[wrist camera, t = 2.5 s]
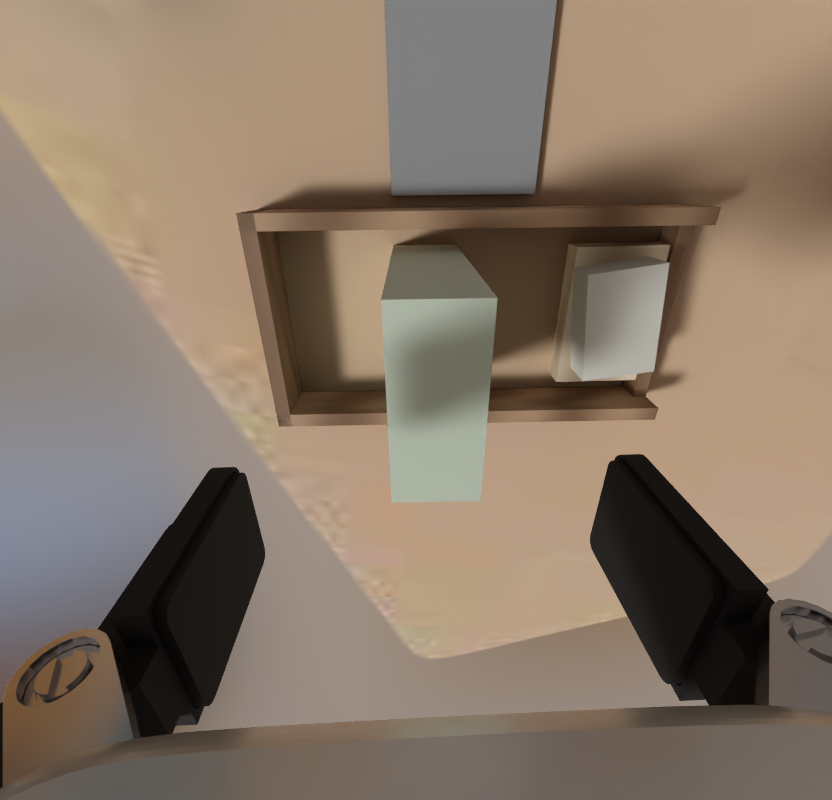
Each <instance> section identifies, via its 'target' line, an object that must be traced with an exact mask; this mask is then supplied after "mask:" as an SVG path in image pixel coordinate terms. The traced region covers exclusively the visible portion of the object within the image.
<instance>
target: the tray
mask: <svg viewBox="0 0 832 800" xmlns="http://www.w3.org/2000/svg"><path fill="white" fill-rule="evenodd" d="M720 209H721V207H716V206H703V205H690V204H643V205H569V206H495V207H421V208H347V209H273V210H253V211H247V212H241V213H236V215H237V220H238V225H239V230H240V235H241V240H242V245H243V250H244V254H245V259H246V264H247V269H248V274H249V279H250V284H251V289H252V294H253V299H254V304H255V309H256V314H257V319H258V324H259V329H260V334H261V339H262V344H263V349H264V354H265V359H266V364H267V369H268V374H269V379H270V383H271V388H272V393H273V398H274V403H275V408H276V413H277V418H278V423H279V426H331V425H384V424H388V422H387V403H386V391H334V392H302V390H301V384H300V378H299V372H298V365H297V359H296V353H295V347H294V341H293V335H292V329H291V322H290V316H289V310H288V304H287V298H286V292H285V285H284V279H283V273H282V267H281V261H280V255H279V249H278V242H277V236H276V231H329V230H400V229H472V228H543V227H614V226H663V228H662V232H661V236H660V240H659V242H661V243H665V244H669V245H671V246H670V250H669V253H668V257H667V261H666V262H669V263H670V264H669V270H668V277H667V284H666V291H665V298H664V305H663V312H662V319H661V326H660V333H659V340H658V347H657V354H656V359H657V355H658V352H659V348H660V345H661V341H662V338H663V334H664V331H665V328H666V324H667V321H668V317H669V314H670V310H671V307H672V303H673V300H674V297H675V293H676V290H677V286H678V283H679V279H680V276H681V272H682V269H683V266H684V262H685V259H686V255H687V252H688V248H689V245H690V241H691V238H692V234H693V231H694V228H695V225H716V221H717V218H718V215H719V212H720ZM655 362H656V361H655ZM651 376H652V372H646V373H639V374H637V376H636V380H624V381H623V384H622V386H615V387H559V388H503V389H490V394H489V406H488V418H487V423H492V422H545V421H599V420H653V419H655V417H656V414H657V411H658V407H656V406H655V405H654V404H653V403H652V402H651V401H650V400H649V399H648V398H646V397H645V396H646V393H647V390H648V386H649V383H650V379H651Z"/></svg>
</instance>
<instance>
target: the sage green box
mask: <svg viewBox="0 0 832 800" xmlns="http://www.w3.org/2000/svg"><path fill="white" fill-rule="evenodd" d="M497 299H498V298H497V297H496V295H495V294H494V293H493V291H492V290H491V289H490V288H489V286H488V285H487V284H486V282H485V281H484V280H483V278H482V277H481V276H480V275H479V273H478V272H477V271H476V269H475V268H474V267H473V266H472V264H471V263H470V262H469V260H468V259H467V258H466V257H465V255H464V254H463V253H462V251H461V250H460V249H459V247H458V246H457V245H456V244H448V245H394V246H393V251H392V255H391V259H390V264H389V268H388V272H387V277H386V281H385V285H384V290H383V294H382V298H381V307H382V326H383V345H384V364H385V384H386V403H387V422H388V441H389V460H390V479H391V498H392V503H404V502H453V501H481V490H482V478H483V466H484V454H485V442H486V430H487V418H488V406H489V394H490V382H491V371H492V359H493V347H494V335H495V323H496V311H497Z"/></svg>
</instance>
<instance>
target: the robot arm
mask: <svg viewBox="0 0 832 800" xmlns="http://www.w3.org/2000/svg"><path fill="white" fill-rule="evenodd" d="M590 544H591V548H592V550H593V552H594V554H595V556H596V558H597V560H598V562H599V564H600V565H601V567H602V569H603V571H604V573H605V575H606V577H607V579H608V580H609V582H610V584H611V586H612V588H613V590H614V592H615V593H616V595H617V597H618V599H619V601H620V603H621V605H622V606H623V608H624V610H625V612H626V614H627V616H628V618H629V619H630V621H631V623H632V625H633V627H634V629H635V631H636V632H637V634H638V636H639V638H640V640H641V642H642V643H643V645H644V647H645V649H646V651H647V653H648V655H649V656H650V658H651V660H652V662H653V664H654V666H655V668H656V670H657V672H658V673H659V675H660V677H661V678H662V680H663V681H664V682H665V683H667V684H671V686H672V687H673V689H674V691H675V693H676V695H677V696H678V698H679V700H680V701H684V700H685V701H686V700H704V699H706V701H707V703H708V704H709V706H676V707H675V706H673V707H648V708H624V709H602V710H579V711H555V712H533V713H513V714H492V715H472V716H451V717H431V718H411V719H393V720H373V721H355V722H337V723H319V724H301V725H282V726H265V727H251V728H238V729H224V730H210V731H197V732H184V733H175V734H172V733H173V731H174V728H175V726H177V725H196V724H198V721H199V719H200V716H201V713H202V711H203V708H204V706H209V705H210V704H211V703H212V702H213V700H214V698H215V695H216V692H217V690H218V687H219V684H220V682H221V679H222V676H223V673H224V671H225V668H226V665H227V662H228V659H229V657H230V654H231V651H232V648H233V646H234V643H235V640H236V637H237V634H238V632H239V629H240V627H241V624H242V621H243V618H244V616H245V613H246V610H247V607H248V605H249V602H250V599H251V596H252V594H253V591H254V588H255V585H256V582H257V579H258V577H259V574H260V572H261V569H262V566H263V563H264V559H265V548H264V544H263V540H262V536H261V533H260V528H259V524H258V520H257V516H256V513H255V509H254V505H253V501H252V497H251V493H250V489H249V485H248V481H247V477H246V475H245V473H239V470H238V469H237V468H235V467H225V468H212V469H210V470H209V471H208V473H207V474H206V476H205V477H204V479H203V480H202V481H201V483H200V484H199V486H198V487H197V489H196V490H195V492H194V493H193V495H192V496H191V498H190V499H189V501H188V502H187V503H186V505H185V507H184V508H183V509H182V511H181V512H180V514H179V515H178V517H177V518H176V520H175V521H174V523H173V524H171V525H170V526H169V527H168V528H167V529H166V530H165V532H164V533H163V535H162V536H161V538H160V539H159V541H158V542H157V544H156V545H155V546H154V548H153V549H152V551H151V552H150V554H149V555H148V557H147V558H146V560H145V561H144V562H143V564H142V565H141V567H140V568H139V570H138V571H137V573H136V574H135V576H134V577H133V578H132V580H131V581H130V583H129V584H128V586H127V587H126V589H125V590H124V592H123V593H122V595H121V596H120V598H119V599H118V600H117V602H116V603H115V605H114V606H113V608H112V609H111V611H110V612H109V613H108V615H107V616H106V618H105V619H104V621H103V622H102V624H101V625H100V626H99V628H98V629H82V630H78V631H74V632H71V633H68V634H66V635H63V636H61V637H59V638H56V639H55V640H53V641H51V642H50V643H48V644H47V645H45V646H43V647H42V648H40V649H39V650H38V651H37V652H36V653H34V654H33V655H32V656H31V657H30V658H29V659H27V660H26V661H25V662H24V664H23V665H22V666H21V667H20V668H19V669H18V670H17V671H16V673H15V674H14V675H13V677H12V679H11V680H10V682H9V684H8V686H7V687H6V690H5V694H4V698H3V702H2V703H1V704H0V800H832V613H831V612H829V611H827V610H825V609H823V608H821V607H819V606H817V605H814V604H810V603H808V602H805V601H800V600H793V599H785V600H779V601H777V602H776V603H775V602H774V601H773V600H772V599H771V598H770V597H769V596H768V594H767V591H768V588H767V587H766V586H765V585H764V584H763V583H762V582H761V581H760V580H759V579H758V578H757V577H756V575H755V574H754V573H753V572H752V571H751V570H750V569H749V568H748V567H747V566H746V565H745V564H744V562H743V561H742V560H741V559H740V558H739V557H738V556H737V555H736V554H735V553H734V552H733V551H732V550H731V548H730V547H729V546H728V545H727V544H726V543H725V542H724V541H723V540H722V539H721V538H720V537H719V536H718V534H717V533H716V532H715V531H714V530H713V529H712V528H711V527H710V526H709V525H708V524H707V523H706V521H705V520H704V519H703V518H702V517H701V516H700V515H699V514H698V513H697V512H696V511H695V510H694V509H693V507H692V506H691V505H690V504H689V503H688V502H687V501H686V500H685V499H684V498H683V497H682V496H681V494H680V493H679V492H678V491H677V490H676V489H675V488H674V487H673V486H672V485H671V484H670V483H669V482H668V480H667V479H666V478H665V477H664V476H663V475H662V474H661V473H660V472H659V471H658V470H657V469H656V468H655V466H654V465H653V464H652V463H651V462H650V461H649V460H648V459H647V458H646V457H645V456H644V455H641V454H633V455H618V456H617V457H616V458H615V460H614V461H611V462H610V463H609V465H608V468H607V472H606V476H605V480H604V484H603V488H602V492H601V496H600V500H599V504H598V508H597V512H596V516H595V519H594V523H593V527H592V531H591V535H590Z"/></svg>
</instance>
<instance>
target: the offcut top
mask: <svg viewBox="0 0 832 800" xmlns="http://www.w3.org/2000/svg"><path fill="white" fill-rule="evenodd" d="M669 264H670V263H669V262H666V261H663V260H659V259H656V258H653V257H650V256H646V257H640V258H633V259H627V260H620V261H614V262H608V263H601V264H595V265H588V266H582V267H575V268H574V281H573V308H572V336H571V364H570V367H571V368H572V370H573V371H574V372H575V373H576V374H577V375H578V377H579V378H580V379H581V380H582V381H589V380H596V379H603V378H610V377H617V376H625V375H632V374H639V373H646V372H653V371H654V368H655V361H656V354H657V347H658V340H659V333H660V326H661V319H662V312H663V305H664V298H665V291H666V284H667V277H668V270H669Z"/></svg>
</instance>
